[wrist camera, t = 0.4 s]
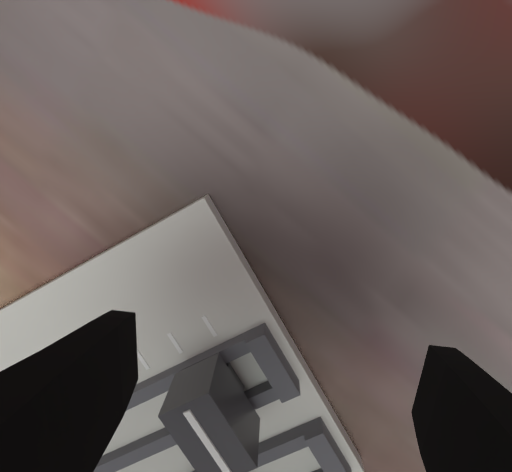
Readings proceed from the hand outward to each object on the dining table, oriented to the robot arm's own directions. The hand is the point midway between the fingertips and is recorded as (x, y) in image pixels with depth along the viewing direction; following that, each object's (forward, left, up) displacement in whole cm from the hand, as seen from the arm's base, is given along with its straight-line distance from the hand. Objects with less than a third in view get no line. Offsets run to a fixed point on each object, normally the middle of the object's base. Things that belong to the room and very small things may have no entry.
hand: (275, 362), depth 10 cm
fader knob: (-6, -5, -9) cm, 12 cm away
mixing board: (-10, -5, -10) cm, 15 cm away
